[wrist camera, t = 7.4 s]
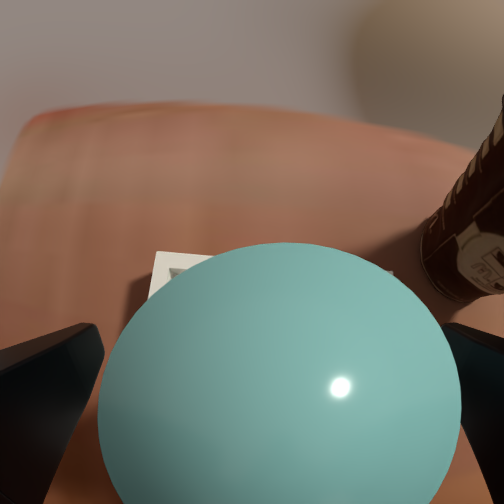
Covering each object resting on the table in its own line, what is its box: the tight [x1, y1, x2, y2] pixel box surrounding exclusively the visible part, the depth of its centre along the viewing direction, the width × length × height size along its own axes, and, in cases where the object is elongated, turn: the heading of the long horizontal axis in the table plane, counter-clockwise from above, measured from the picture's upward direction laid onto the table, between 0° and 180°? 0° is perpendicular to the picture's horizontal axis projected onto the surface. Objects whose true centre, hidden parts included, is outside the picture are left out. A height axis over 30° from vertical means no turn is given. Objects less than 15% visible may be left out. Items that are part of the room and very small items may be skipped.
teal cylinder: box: [97, 243, 461, 504], centre depth 9 cm, size 5×5×12 cm
